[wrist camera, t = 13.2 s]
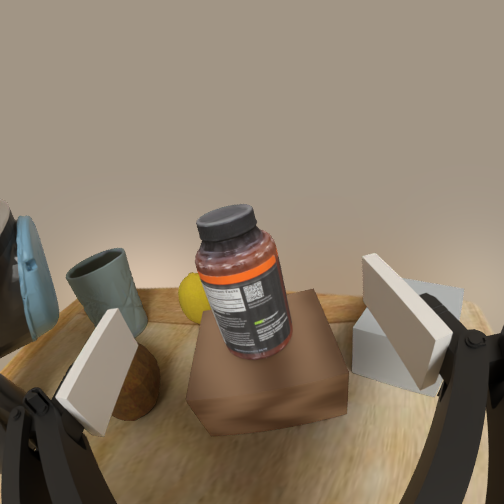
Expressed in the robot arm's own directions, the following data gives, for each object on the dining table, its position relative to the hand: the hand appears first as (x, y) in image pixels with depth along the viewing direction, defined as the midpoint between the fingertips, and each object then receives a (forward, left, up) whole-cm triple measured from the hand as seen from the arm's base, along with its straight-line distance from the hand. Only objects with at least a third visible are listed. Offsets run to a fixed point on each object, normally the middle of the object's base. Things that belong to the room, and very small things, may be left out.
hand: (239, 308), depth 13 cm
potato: (-16, -6, -14) cm, 22 cm away
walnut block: (-5, +5, -14) cm, 16 cm away
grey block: (+6, +14, -14) cm, 20 cm away
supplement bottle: (-5, +5, -8) cm, 11 cm away
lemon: (-19, +8, -14) cm, 25 cm away
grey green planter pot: (-31, -1, -14) cm, 34 cm away
